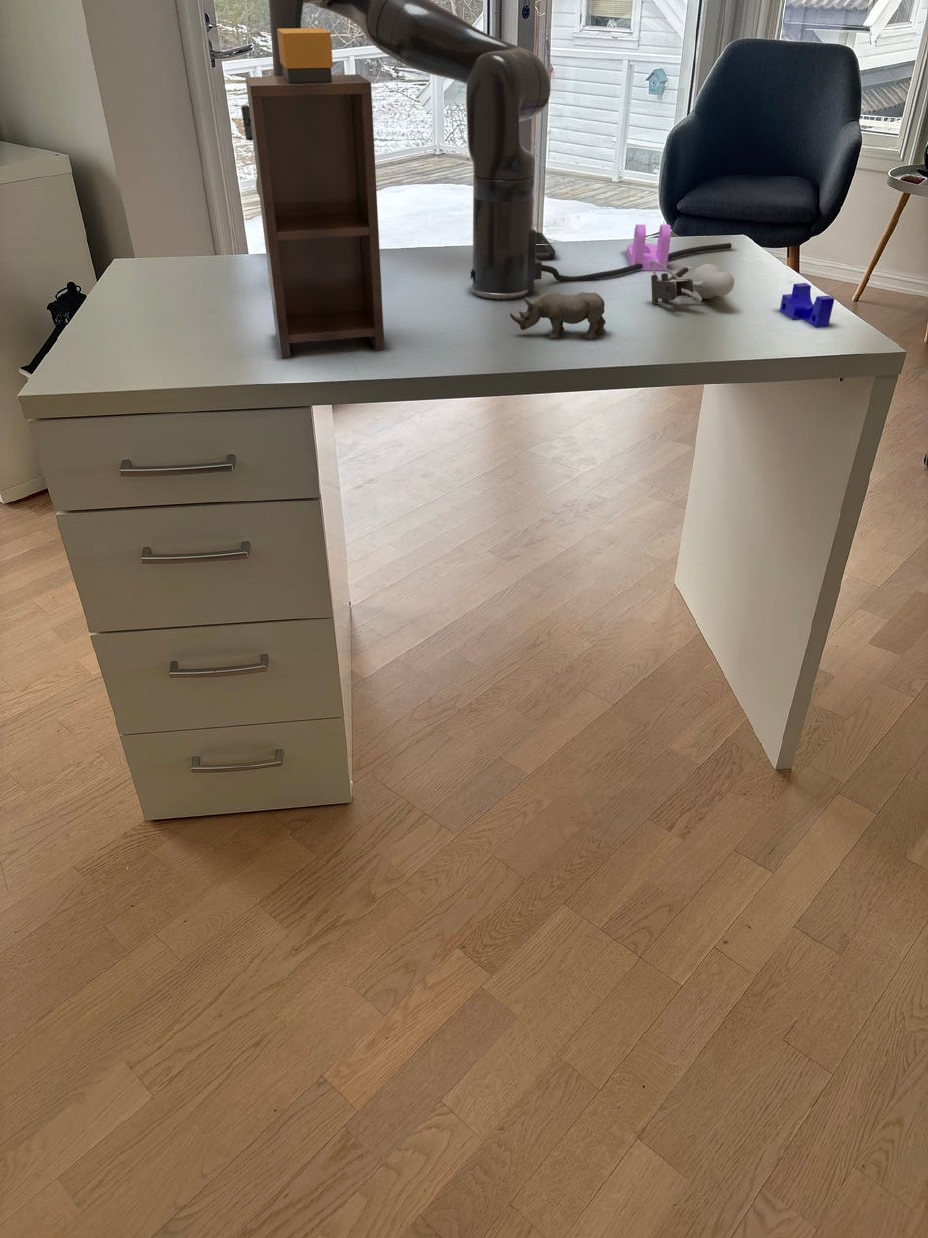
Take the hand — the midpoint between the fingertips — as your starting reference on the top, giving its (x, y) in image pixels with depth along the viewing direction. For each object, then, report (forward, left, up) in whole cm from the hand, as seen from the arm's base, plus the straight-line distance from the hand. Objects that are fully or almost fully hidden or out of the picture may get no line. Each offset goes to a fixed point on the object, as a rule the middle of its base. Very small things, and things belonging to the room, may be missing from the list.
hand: (293, 98), depth 130 cm
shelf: (0, +21, -28) cm, 35 cm away
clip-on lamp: (-57, +13, -28) cm, 65 cm away
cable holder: (-70, +27, -28) cm, 80 cm away
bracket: (-60, -9, -28) cm, 67 cm away
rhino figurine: (-32, +25, -28) cm, 49 cm away
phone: (-42, -21, -28) cm, 54 cm away
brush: (0, +16, +4) cm, 17 cm away
